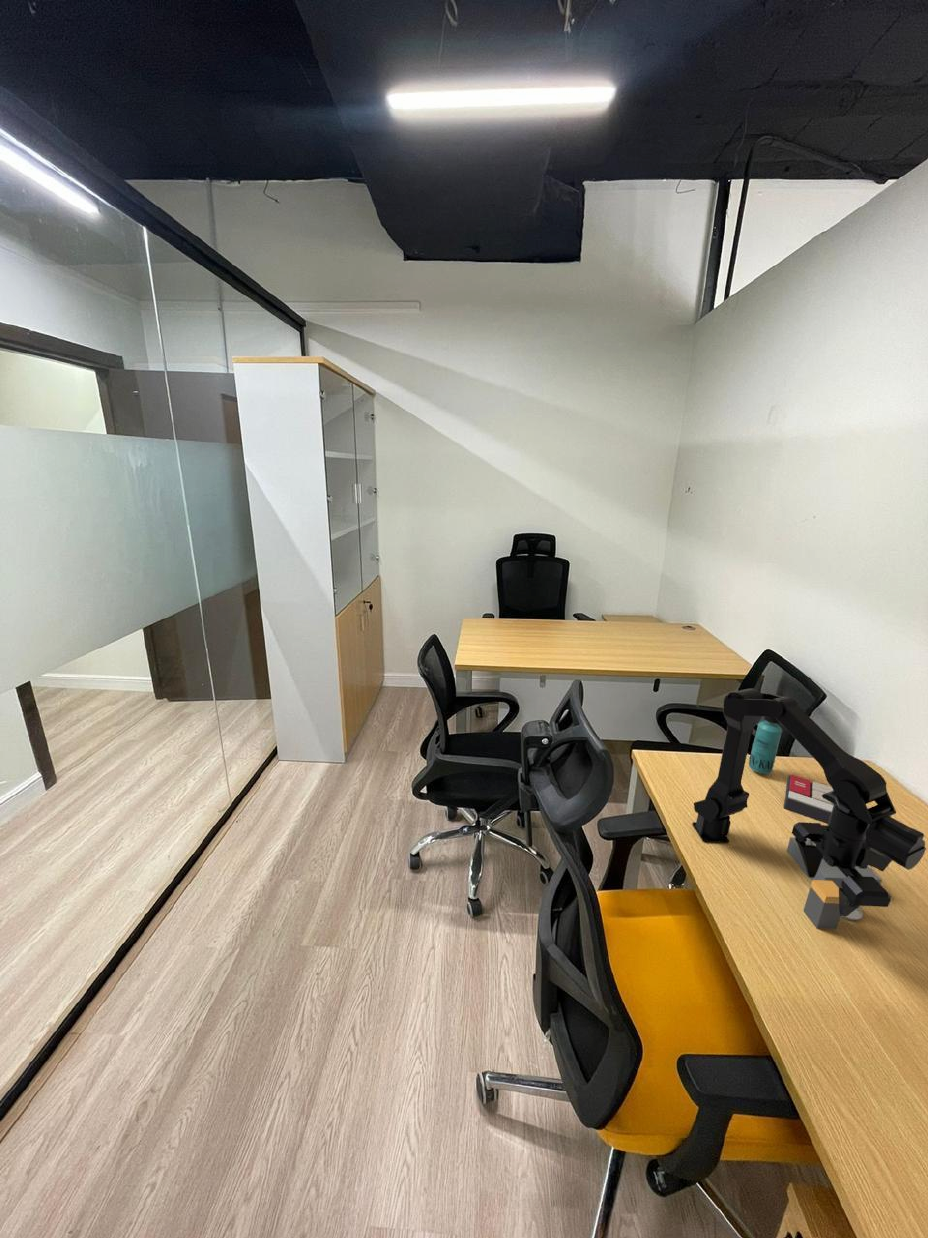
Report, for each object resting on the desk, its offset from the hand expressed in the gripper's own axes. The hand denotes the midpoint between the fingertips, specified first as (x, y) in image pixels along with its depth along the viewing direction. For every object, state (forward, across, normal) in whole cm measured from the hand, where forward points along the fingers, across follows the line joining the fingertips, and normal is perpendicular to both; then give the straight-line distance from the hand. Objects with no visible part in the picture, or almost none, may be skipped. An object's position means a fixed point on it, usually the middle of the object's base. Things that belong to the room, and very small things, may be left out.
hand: (826, 895), depth 96 cm
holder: (+6, +13, -11) cm, 18 cm away
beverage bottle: (+6, +52, -17) cm, 55 cm away
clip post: (+6, +3, -7) cm, 10 cm away
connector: (+6, 0, 0) cm, 6 cm away
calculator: (+7, +38, -23) cm, 45 cm away
